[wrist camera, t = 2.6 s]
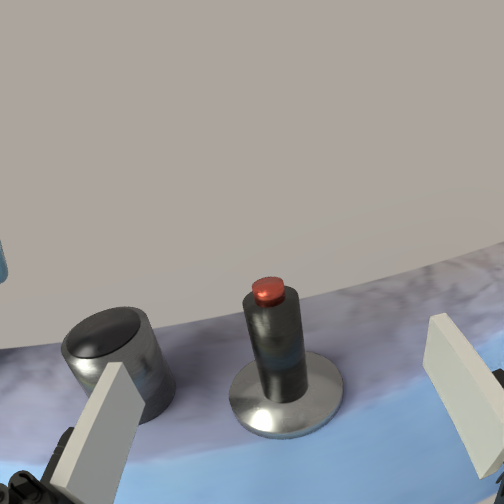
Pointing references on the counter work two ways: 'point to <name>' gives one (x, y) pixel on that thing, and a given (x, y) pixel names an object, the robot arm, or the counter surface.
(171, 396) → the pot
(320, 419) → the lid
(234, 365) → the counter surface
